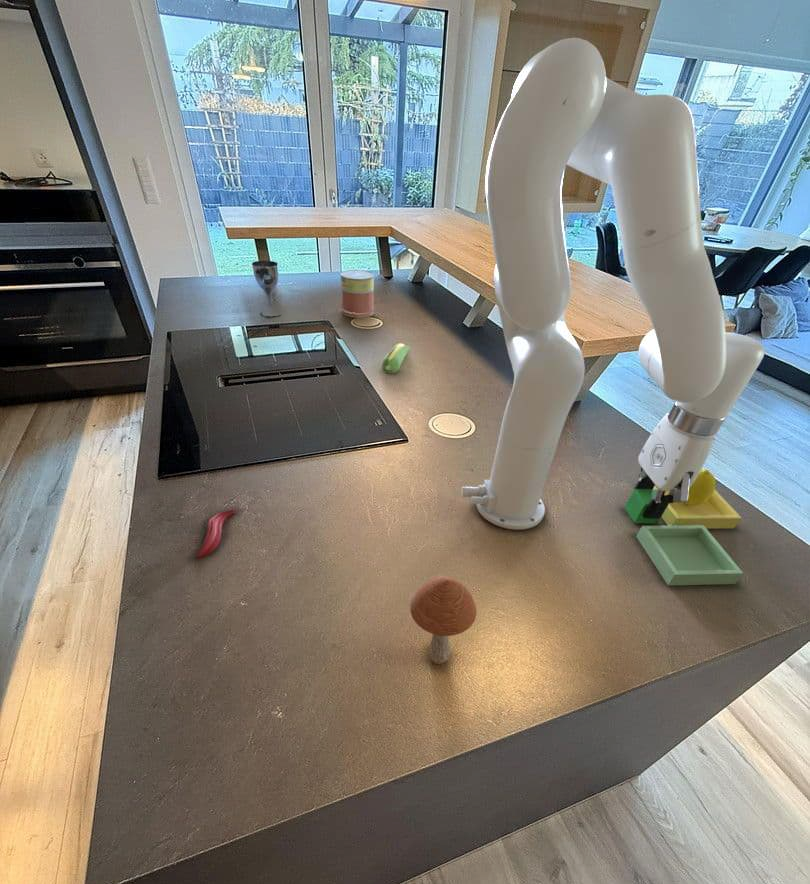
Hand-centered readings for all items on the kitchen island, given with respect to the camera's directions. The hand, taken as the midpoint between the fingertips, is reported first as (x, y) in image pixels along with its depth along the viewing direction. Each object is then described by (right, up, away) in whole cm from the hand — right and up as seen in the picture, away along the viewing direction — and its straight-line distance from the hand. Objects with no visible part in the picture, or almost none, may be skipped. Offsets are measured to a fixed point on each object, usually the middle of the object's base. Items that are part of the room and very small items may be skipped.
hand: (644, 507), depth 85 cm
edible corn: (-47, +45, +48) cm, 80 cm away
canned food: (-61, +75, +79) cm, 125 cm away
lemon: (+10, +1, +4) cm, 11 cm away
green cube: (0, -1, +1) cm, 2 cm away
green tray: (+3, -9, -6) cm, 12 cm away
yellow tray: (+10, 0, +5) cm, 11 cm away
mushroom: (-40, -22, -23) cm, 51 cm away
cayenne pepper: (-76, -5, -8) cm, 77 cm away
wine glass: (-90, +71, +73) cm, 136 cm away
